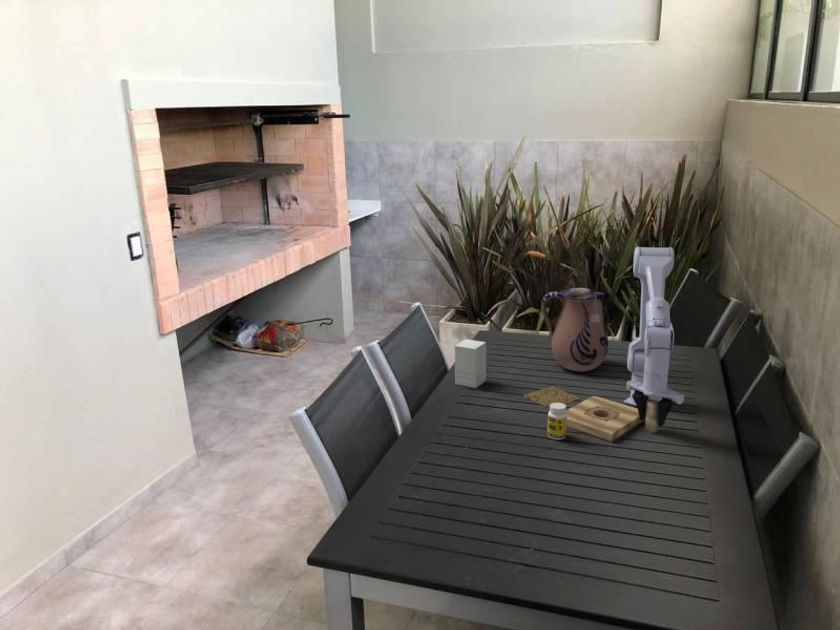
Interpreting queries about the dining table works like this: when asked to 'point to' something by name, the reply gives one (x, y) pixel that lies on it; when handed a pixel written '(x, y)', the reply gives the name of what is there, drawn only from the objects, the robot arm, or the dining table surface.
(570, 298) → the ceramic pitcher
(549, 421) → the supplement bottle
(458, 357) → the supplement box
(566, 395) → the cookie
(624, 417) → the bore board
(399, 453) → the dining table surface
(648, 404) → the dowel
